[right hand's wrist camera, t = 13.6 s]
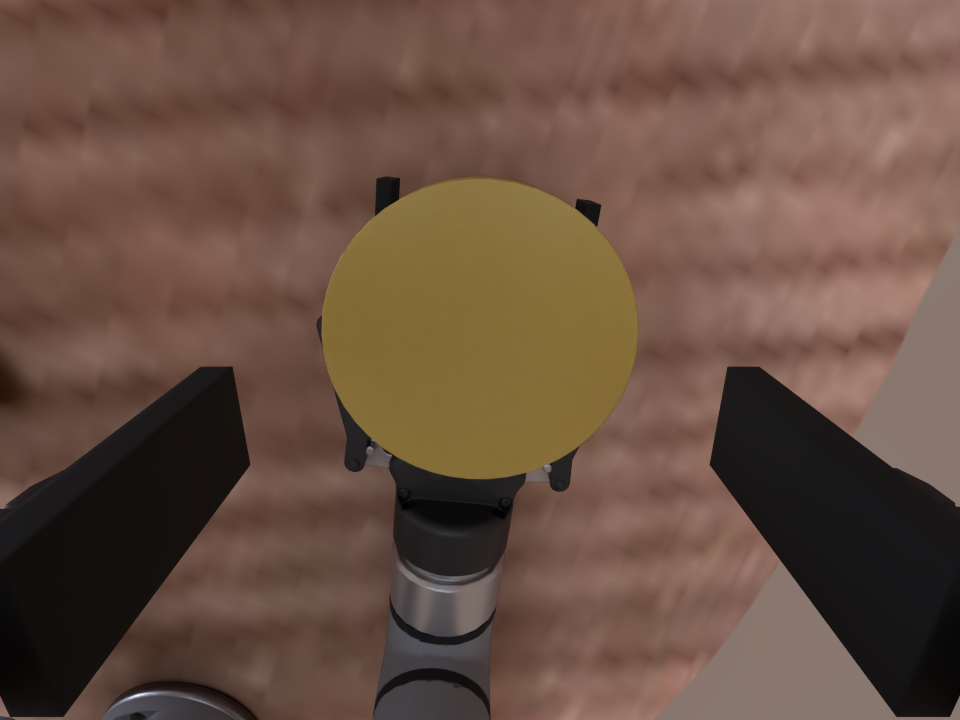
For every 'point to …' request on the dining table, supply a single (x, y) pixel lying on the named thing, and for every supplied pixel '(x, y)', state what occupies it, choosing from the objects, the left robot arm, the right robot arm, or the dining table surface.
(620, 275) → the lid
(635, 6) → the dining table surface
